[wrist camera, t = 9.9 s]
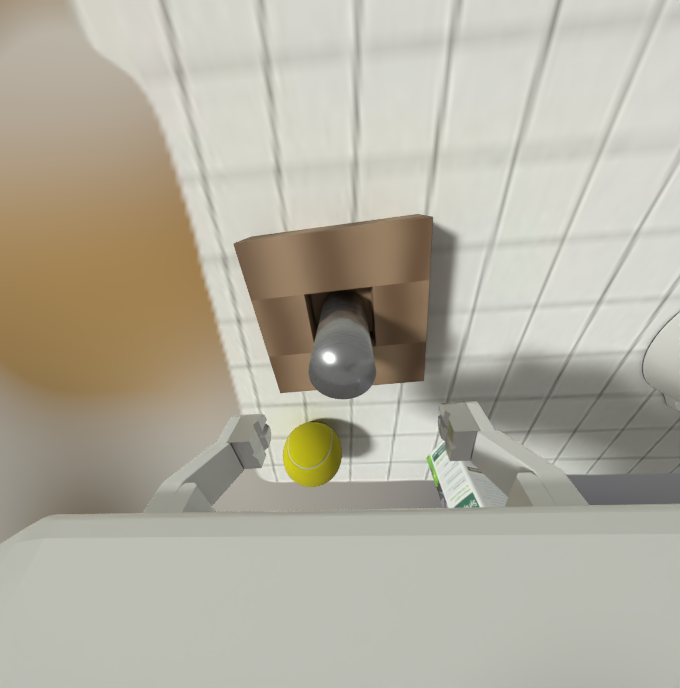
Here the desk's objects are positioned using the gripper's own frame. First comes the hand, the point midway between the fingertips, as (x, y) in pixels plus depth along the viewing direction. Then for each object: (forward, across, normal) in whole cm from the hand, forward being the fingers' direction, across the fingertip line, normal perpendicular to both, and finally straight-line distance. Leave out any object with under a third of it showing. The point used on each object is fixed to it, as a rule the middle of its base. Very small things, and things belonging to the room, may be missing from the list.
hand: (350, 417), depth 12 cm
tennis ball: (+14, +7, +17) cm, 23 cm away
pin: (+14, +1, 0) cm, 14 cm away
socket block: (+14, +1, 0) cm, 15 cm away
